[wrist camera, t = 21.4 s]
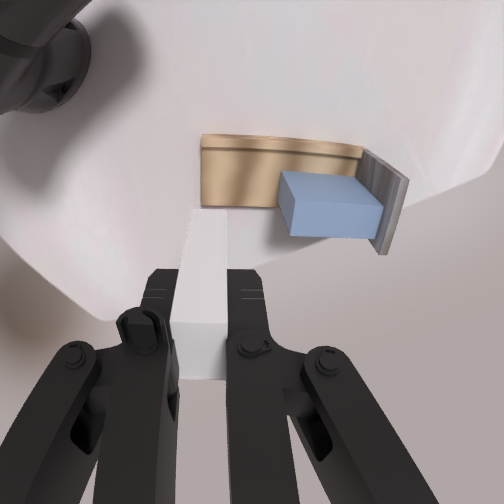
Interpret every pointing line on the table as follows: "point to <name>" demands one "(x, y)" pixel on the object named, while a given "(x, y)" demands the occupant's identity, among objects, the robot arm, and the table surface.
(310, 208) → the slim book
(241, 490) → the robot arm
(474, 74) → the table surface
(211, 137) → the shelf
